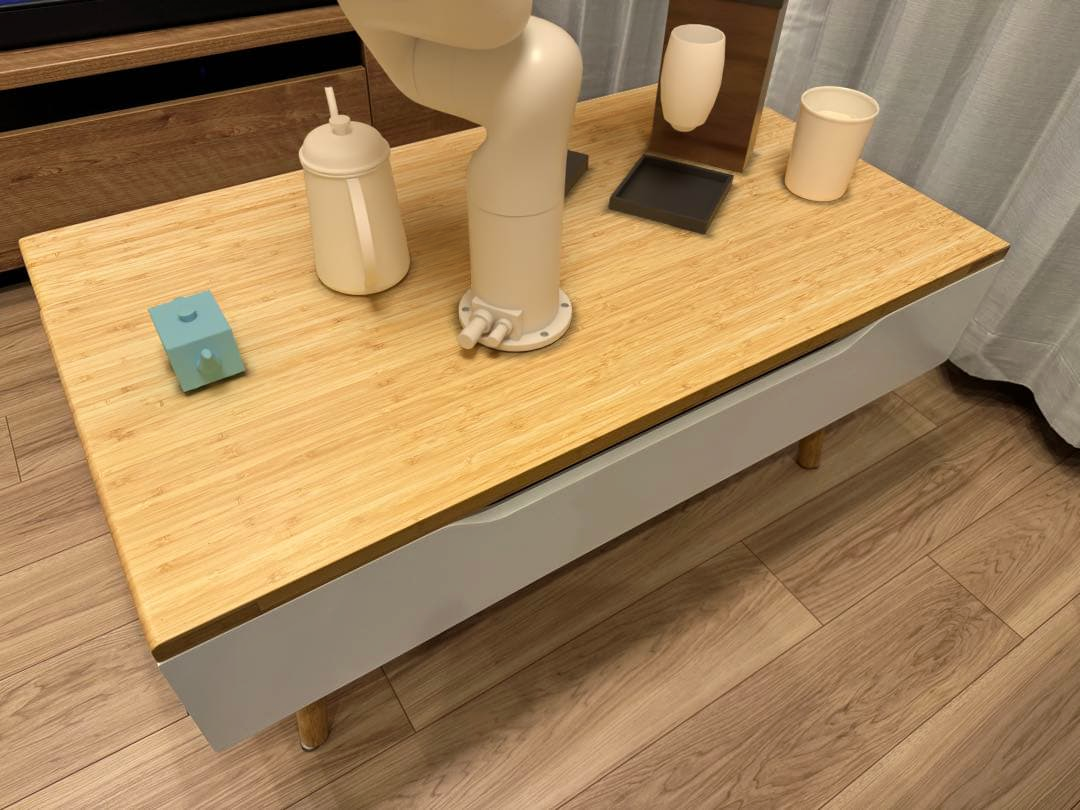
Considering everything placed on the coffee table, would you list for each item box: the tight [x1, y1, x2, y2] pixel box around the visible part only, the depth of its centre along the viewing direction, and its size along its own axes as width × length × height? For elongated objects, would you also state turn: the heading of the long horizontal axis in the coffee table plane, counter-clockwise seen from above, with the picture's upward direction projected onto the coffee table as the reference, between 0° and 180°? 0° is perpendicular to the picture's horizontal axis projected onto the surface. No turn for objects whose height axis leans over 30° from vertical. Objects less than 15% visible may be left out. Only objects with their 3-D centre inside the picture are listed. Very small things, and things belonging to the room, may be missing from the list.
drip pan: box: [608, 153, 735, 235], centre depth 105 cm, size 13×13×2 cm
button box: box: [564, 149, 590, 198], centre depth 106 cm, size 12×10×4 cm
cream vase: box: [661, 24, 725, 132], centre depth 97 cm, size 7×7×21 cm
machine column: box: [648, 0, 790, 174], centre depth 106 cm, size 6×14×24 cm, turn 65°
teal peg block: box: [147, 289, 246, 393], centre depth 77 cm, size 12×6×8 cm, turn 33°
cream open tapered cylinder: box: [784, 85, 880, 202], centre depth 104 cm, size 10×10×12 cm
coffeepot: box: [298, 86, 411, 296], centre depth 86 cm, size 11×25×19 cm, turn 17°
